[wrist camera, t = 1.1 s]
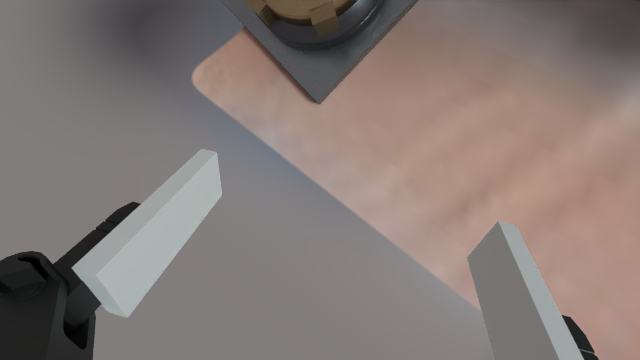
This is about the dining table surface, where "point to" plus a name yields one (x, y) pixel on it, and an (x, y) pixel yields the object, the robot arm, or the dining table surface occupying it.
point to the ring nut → (303, 12)
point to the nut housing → (324, 41)
